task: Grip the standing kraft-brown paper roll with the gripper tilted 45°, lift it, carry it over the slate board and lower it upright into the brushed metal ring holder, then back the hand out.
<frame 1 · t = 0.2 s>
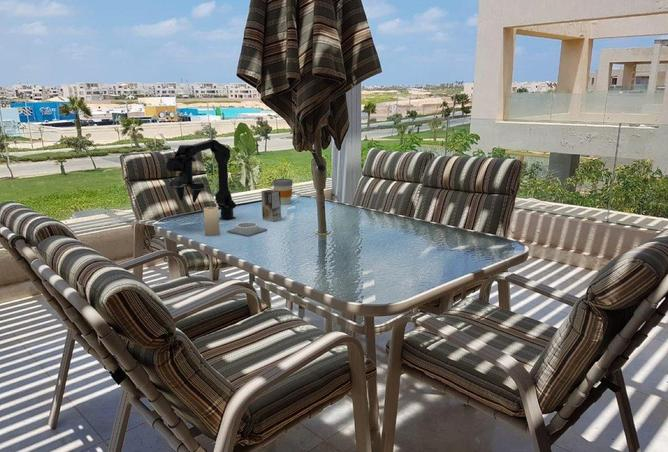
hand: (187, 201, 253), 14 cm above the table, tool pointing down, fingers open, 9 cm apart
kraft roll: (212, 234, 247), on the table
ring holder: (247, 231, 252), on the table
reusable coffee cup: (283, 203, 320), on the table
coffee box: (271, 220, 277), on the table
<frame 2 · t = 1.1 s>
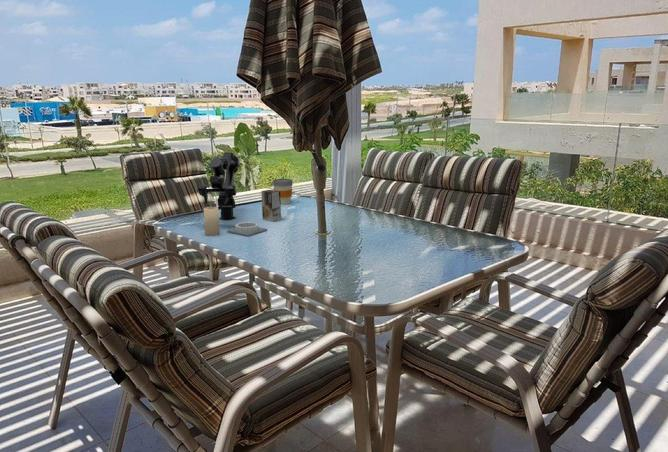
hand: (214, 204, 251), 13 cm above the table, tool tilted 45°, fingers open, 9 cm apart
nothing on the table moved.
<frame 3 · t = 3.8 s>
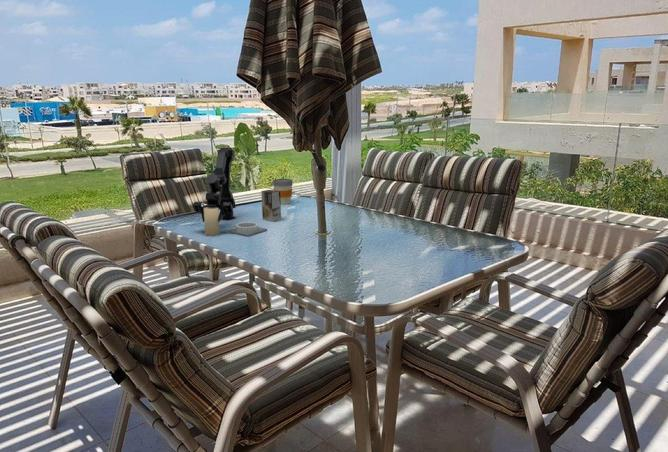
hand: (210, 221, 244), 7 cm above the table, tool tilted 45°, fingers closed on kraft roll, 7 cm apart
kraft roll: (212, 233, 247), on the table, touching gripper
everything else where it was.
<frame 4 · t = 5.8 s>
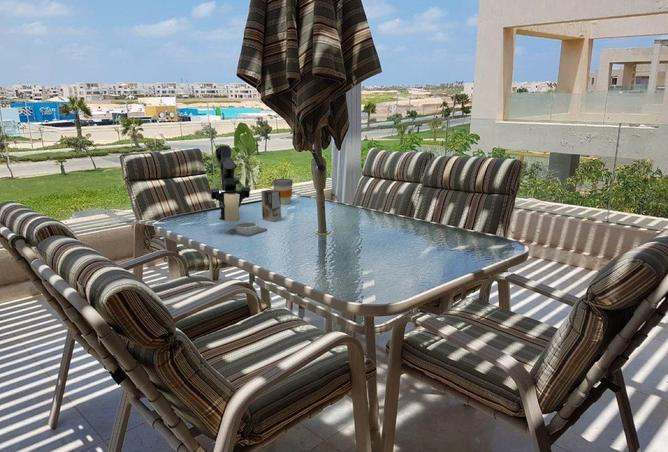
hand: (232, 207, 244), 13 cm above the table, tool tilted 45°, fingers closed on kraft roll, 7 cm apart
kraft roll: (232, 220, 247), point 7 cm above the table, touching gripper
everything else where it was.
when the fingers open (9 cm above the table, at t = 7.8 s): kraft roll drops 1 cm, resting on ring holder.
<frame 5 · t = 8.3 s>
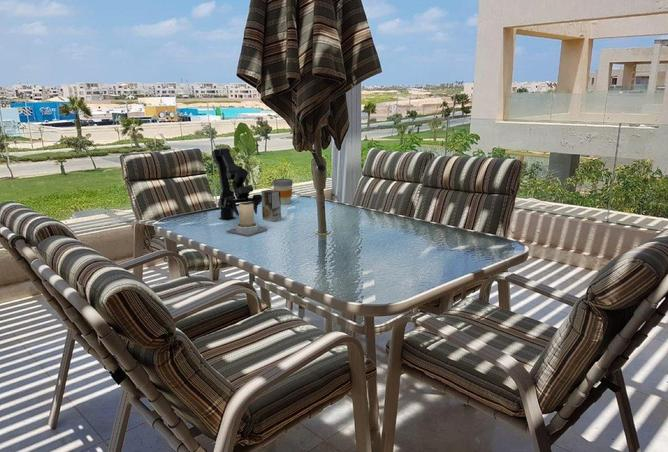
hand: (247, 214, 248), 9 cm above the table, tool tilted 45°, fingers open, 9 cm apart
kraft roll: (247, 229, 252), point 1 cm above the table, touching ring holder
everything else where it was.
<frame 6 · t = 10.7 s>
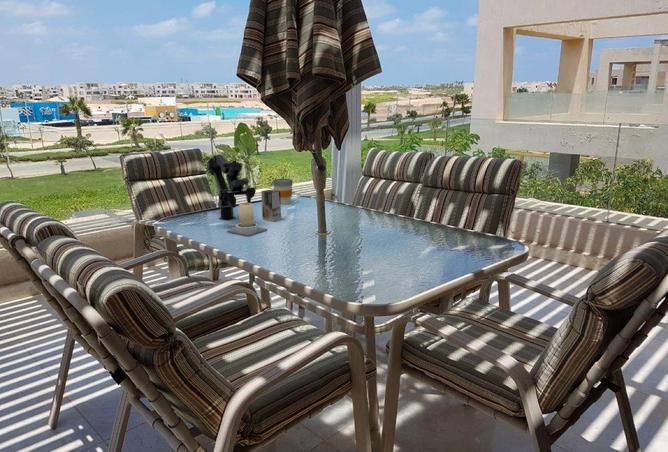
hand: (241, 206, 256), 11 cm above the table, tool tilted 45°, fingers open, 9 cm apart
nothing on the table moved.
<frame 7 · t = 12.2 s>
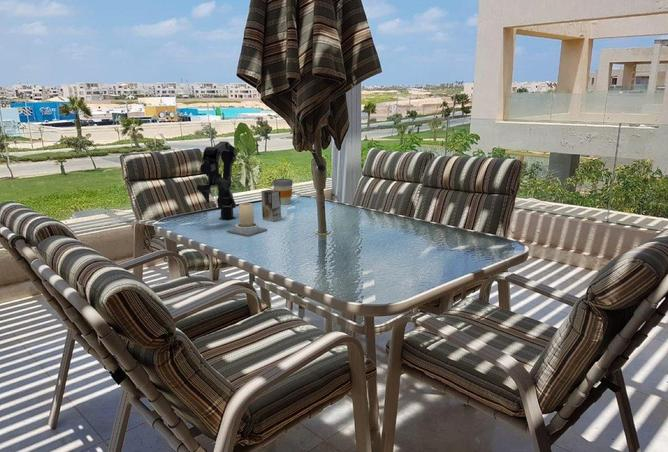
hand: (214, 201, 259), 13 cm above the table, tool pointing down, fingers open, 9 cm apart
nothing on the table moved.
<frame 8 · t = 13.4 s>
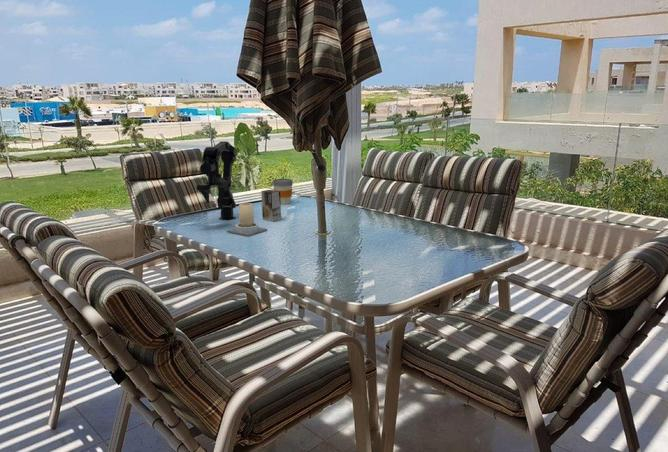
hand: (214, 201, 259), 13 cm above the table, tool pointing down, fingers open, 9 cm apart
nothing on the table moved.
at the end: kraft roll 0.1 cm off-centre on the ring holder, point 1.0 cm above the ring holder's base; kraft roll tilted 0°; the gripper is holding nothing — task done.
